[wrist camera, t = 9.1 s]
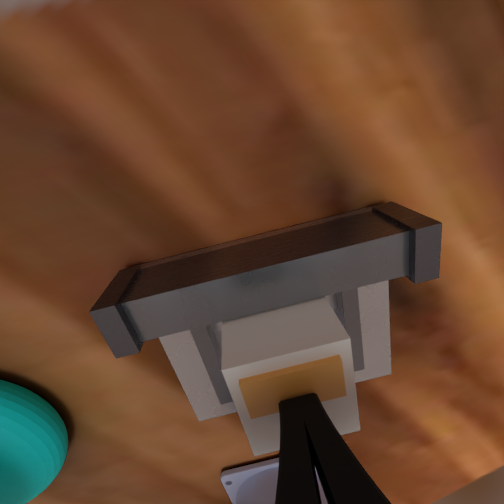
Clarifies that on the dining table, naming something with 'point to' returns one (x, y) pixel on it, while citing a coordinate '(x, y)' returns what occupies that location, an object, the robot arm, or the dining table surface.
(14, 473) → the donuts
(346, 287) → the rail
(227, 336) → the block
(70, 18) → the dining table surface
